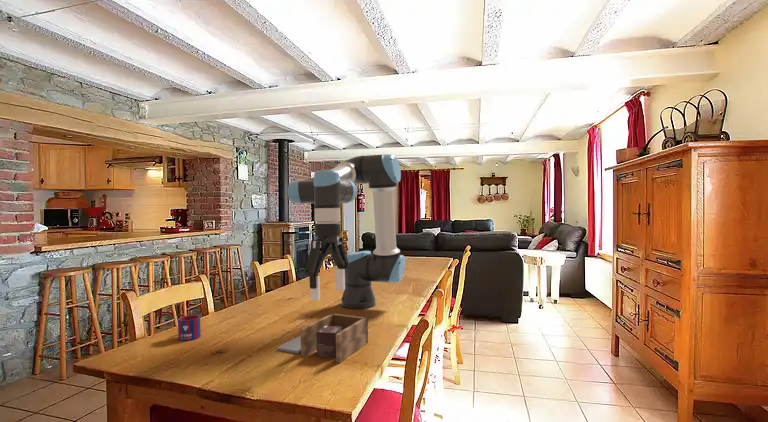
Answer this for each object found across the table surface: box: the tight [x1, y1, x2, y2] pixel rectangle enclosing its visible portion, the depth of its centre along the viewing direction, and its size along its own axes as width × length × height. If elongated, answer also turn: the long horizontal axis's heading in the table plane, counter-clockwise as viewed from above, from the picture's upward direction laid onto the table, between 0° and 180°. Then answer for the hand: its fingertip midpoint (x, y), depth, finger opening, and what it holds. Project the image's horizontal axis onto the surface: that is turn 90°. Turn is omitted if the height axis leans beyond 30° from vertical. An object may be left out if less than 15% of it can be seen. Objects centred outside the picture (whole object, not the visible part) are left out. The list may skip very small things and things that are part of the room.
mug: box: [177, 314, 202, 342], centre depth 131 cm, size 7×10×7 cm
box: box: [316, 326, 342, 358], centre depth 114 cm, size 6×6×7 cm
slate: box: [276, 334, 301, 355], centre depth 121 cm, size 12×8×1 cm, turn 155°
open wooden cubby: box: [300, 313, 369, 364], centre depth 117 cm, size 17×13×8 cm
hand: (328, 294), depth 113 cm, fingers open, 13 cm apart
